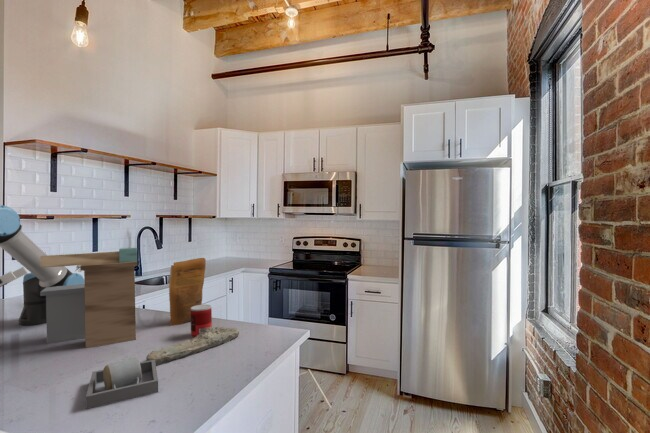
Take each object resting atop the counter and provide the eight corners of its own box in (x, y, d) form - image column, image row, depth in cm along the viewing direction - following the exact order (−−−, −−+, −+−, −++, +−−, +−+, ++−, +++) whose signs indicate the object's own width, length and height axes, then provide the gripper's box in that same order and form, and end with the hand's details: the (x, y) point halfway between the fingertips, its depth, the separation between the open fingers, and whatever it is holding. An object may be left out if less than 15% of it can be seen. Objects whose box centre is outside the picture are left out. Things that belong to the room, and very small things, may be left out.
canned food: (215, 331, 140) (215, 305, 140) (202, 338, 133) (202, 310, 133) (200, 330, 143) (199, 303, 143) (186, 336, 135) (186, 308, 135)
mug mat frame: (92, 382, 99) (92, 371, 99) (155, 369, 106) (154, 359, 106) (86, 409, 85) (85, 396, 85) (158, 391, 92) (158, 380, 92)
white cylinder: (102, 387, 95) (101, 360, 95) (134, 377, 101) (134, 351, 101) (112, 402, 88) (111, 372, 88) (146, 390, 94) (146, 362, 93)
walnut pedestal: (85, 340, 134) (84, 262, 134) (138, 331, 142) (137, 259, 142) (82, 349, 124) (80, 266, 124) (138, 339, 133) (137, 262, 133)
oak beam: (43, 266, 126) (43, 252, 126) (137, 259, 140) (136, 247, 140) (39, 268, 120) (39, 254, 120) (137, 261, 135) (137, 248, 135)
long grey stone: (139, 366, 113) (153, 376, 107) (138, 350, 112) (153, 359, 106) (229, 331, 140) (245, 337, 134) (229, 318, 140) (244, 324, 133)
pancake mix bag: (211, 317, 162) (209, 257, 162) (172, 328, 146) (171, 262, 146) (202, 314, 166) (201, 256, 166) (164, 325, 150) (163, 261, 150)
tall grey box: (47, 337, 138) (46, 287, 138) (106, 328, 147) (105, 281, 147) (41, 345, 129) (40, 291, 129) (104, 335, 139) (103, 285, 139)
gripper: (-29, 310, 124) (36, 276, 133) (-65, 328, 102) (15, 286, 111) (-44, 293, 123) (23, 260, 132) (-84, 308, 101) (-1, 267, 110)
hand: (19, 272), depth 121 cm, fingers open, 13 cm apart
